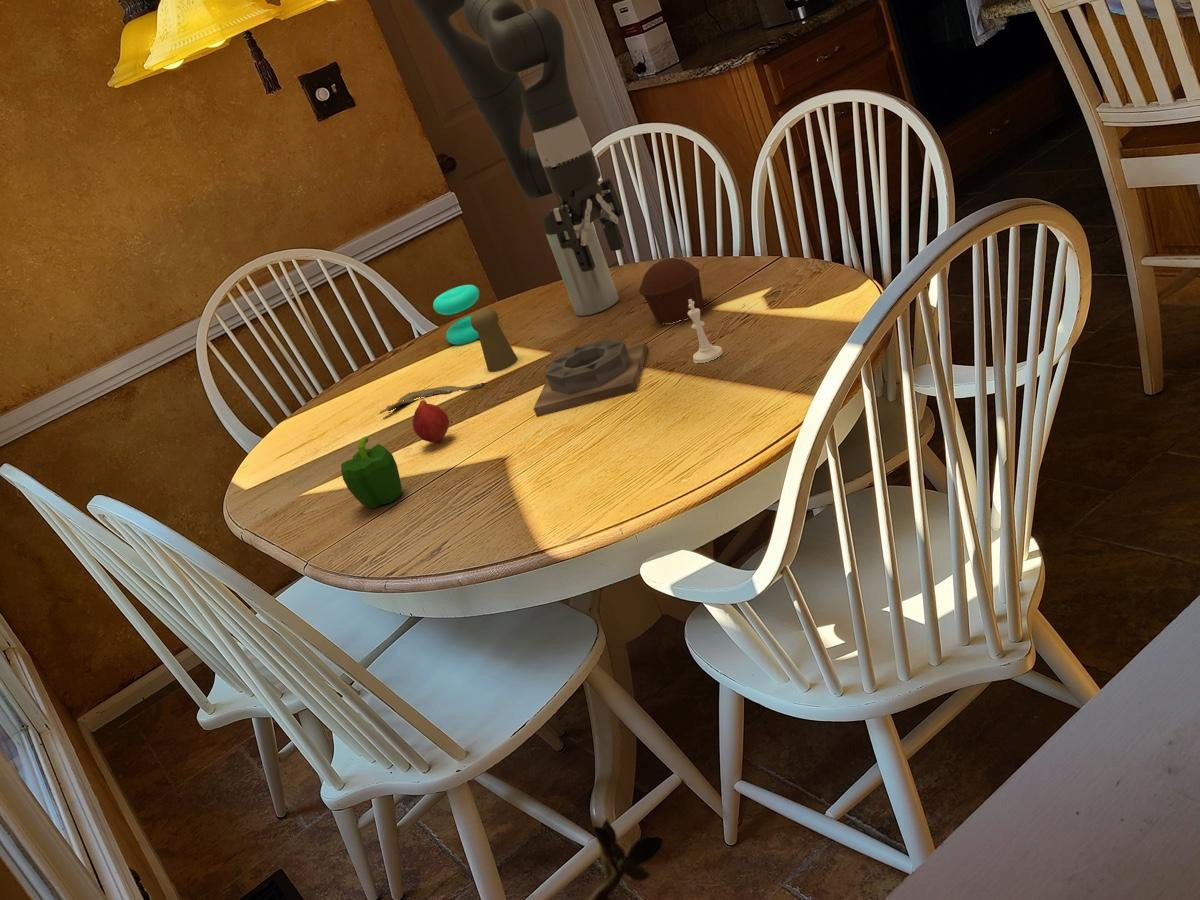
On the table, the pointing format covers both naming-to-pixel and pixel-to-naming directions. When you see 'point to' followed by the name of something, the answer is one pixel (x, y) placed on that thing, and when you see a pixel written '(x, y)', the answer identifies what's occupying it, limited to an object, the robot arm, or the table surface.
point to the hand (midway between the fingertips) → (603, 259)
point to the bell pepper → (372, 475)
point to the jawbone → (428, 392)
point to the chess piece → (702, 338)
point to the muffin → (671, 289)
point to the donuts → (453, 304)
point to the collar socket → (591, 375)
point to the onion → (430, 422)
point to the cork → (493, 341)
